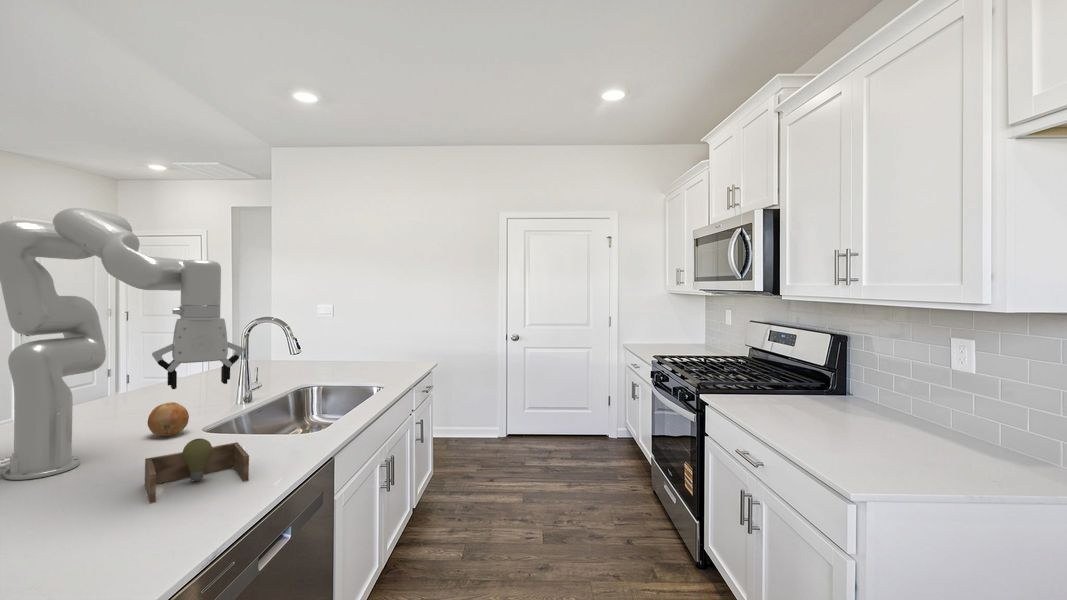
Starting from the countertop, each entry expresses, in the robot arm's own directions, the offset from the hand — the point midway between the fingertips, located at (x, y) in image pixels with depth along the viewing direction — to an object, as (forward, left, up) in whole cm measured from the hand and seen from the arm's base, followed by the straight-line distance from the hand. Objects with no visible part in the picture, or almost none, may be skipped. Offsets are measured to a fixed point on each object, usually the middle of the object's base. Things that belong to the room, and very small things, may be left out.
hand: (199, 385), depth 105 cm
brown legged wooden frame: (0, -1, -23) cm, 23 cm away
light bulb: (0, 0, -23) cm, 23 cm away
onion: (-1, +44, -23) cm, 49 cm away
